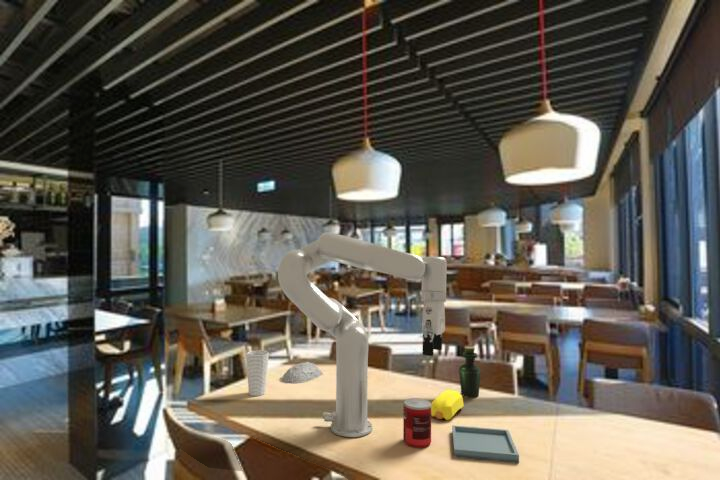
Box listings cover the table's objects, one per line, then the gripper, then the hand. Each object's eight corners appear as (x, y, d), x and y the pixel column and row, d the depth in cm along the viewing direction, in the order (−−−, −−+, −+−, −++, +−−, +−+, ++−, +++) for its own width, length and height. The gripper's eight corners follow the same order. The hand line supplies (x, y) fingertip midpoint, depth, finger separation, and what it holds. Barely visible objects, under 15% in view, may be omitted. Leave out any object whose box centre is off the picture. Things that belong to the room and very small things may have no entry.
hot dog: (466, 407, 145) (445, 403, 149) (466, 388, 145) (445, 384, 149) (449, 424, 130) (426, 419, 134) (449, 403, 130) (426, 398, 134)
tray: (454, 457, 108) (454, 449, 108) (452, 432, 123) (452, 425, 124) (519, 463, 105) (518, 455, 105) (508, 436, 120) (508, 429, 121)
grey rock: (330, 370, 191) (329, 355, 191) (303, 388, 167) (301, 372, 168) (301, 370, 196) (300, 356, 197) (271, 388, 173) (269, 371, 174)
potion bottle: (477, 391, 162) (477, 345, 163) (483, 398, 154) (483, 349, 155) (456, 391, 162) (456, 345, 163) (461, 398, 154) (461, 349, 155)
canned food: (412, 434, 122) (412, 396, 122) (436, 441, 117) (436, 402, 117) (397, 442, 116) (398, 402, 117) (422, 451, 111) (422, 409, 111)
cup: (265, 397, 153) (266, 355, 154) (242, 397, 153) (243, 355, 154) (270, 390, 161) (271, 350, 162) (249, 390, 161) (249, 350, 162)
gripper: (438, 299, 118) (436, 359, 118) (452, 295, 134) (451, 348, 133) (413, 297, 122) (411, 356, 121) (429, 294, 137) (428, 346, 136)
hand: (432, 352), depth 127 cm, fingers open, 9 cm apart
